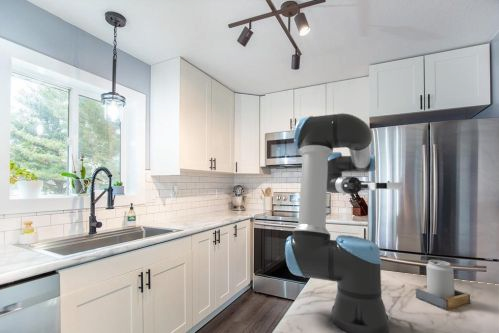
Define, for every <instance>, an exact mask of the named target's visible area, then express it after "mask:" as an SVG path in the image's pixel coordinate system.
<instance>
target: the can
mask: <svg viewBox="0 0 499 333" xmlns="http://www.w3.org/2000/svg"><path fill="white" fill-rule="evenodd" d="M451 265H452V264H451V263H450V262H448V261H445V260H439V259H430V260H428V262H427V264H426V290H427V291H426V292H428V293H431V294H434V295H436V296H439V297H441V298H444V299H447V298H450V297H454V289H455V275H454V268H453V267H452V266H451Z"/></svg>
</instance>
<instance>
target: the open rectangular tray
mask: <svg viewBox="0 0 499 333" xmlns="http://www.w3.org/2000/svg"><path fill="white" fill-rule="evenodd" d="M415 298H416V299H418V300H420V301H422V302H425V303H427V304H430V305H431V306H434V307H437V308H440V309H441V310H444V311H450V310H454V309H458V308H463V307H465V306H469V305H471V303H472V302H471V294H469V293H467V292H464V291H461V290H458V289H455V288H454V297H450V298H447V299H444V298H441V297H439V296H436V295H434V294H431V293H428V292H427V291H425V290H423V289H421V288H415Z"/></svg>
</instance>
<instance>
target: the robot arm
mask: <svg viewBox="0 0 499 333" xmlns="http://www.w3.org/2000/svg"><path fill="white" fill-rule="evenodd" d="M293 131H294V133H293V144H294V147H295V149H296V150H297V151H298V154H299V155H300V156H301V158H302V159H301V160H302V161H301V175H300V176H301V177H300V190H299V207H298V208H299V209H298V224H297V226H296V227H294V229H292V235H290V236H288V237H287V238H286V241H285V247H284V248H285V249H284V250H285V251H284V254H285V261H286V266H287V268H288V270H289V272H290V273H291V274H292V275H295V276H298V277H303V278H310V279H315V280H316V279H317V280H321V281H329V282H336V283H337V285H336V286H337V287H336V288H337V292H336V294H335V295H336V296H335V299H334V303H333V305H332V308H331V321H332V322H333V324H335V326H337V327H338V328H339V329H341V330H343V331H344V332H347V333H389V331H390V317H389V315H388V313H387V310H386V307H385V303H384V300H383V298H382V276H381V275H382V274H381V273H382V270H381V269H382V268H381V264H382V260H381V251H380V247H379V245H378V244H376V243H375V242H373V241H372V240H369V239H367V238H362V237H359V236H354V235H344V234H342V235H341V234H340V235H337V236H336V239H331V233H330V232H329V231H328V229H327V228H326V224H327V197H328V195H327V194H328V193H330V194H342V195H343V196H344V195H346V194H347V195H356V194H358V193H359V192H361V191H365V190H367V191H377V190H378V189H381V190H382V189H383V190H402V191H403V190H404V184H403V182H391V181H390V180H387V182H371V181H365V180H360V179H359V178H358V177H357V176H343V173H350V172H351V173H359V172H360V173H364V172H365V173H369V172H375V171H376V168H377V167H376V166H377V165H376V156H375V155H373V154H371V151H370V150H371V148H370V146H371V143H372V140H373V133H372V130H371V128H370V127H369V125H368V124H367V123H366V122H365V121H364V120H362V119H361V118H359V117H358V116H355V115H353V114H349V113H335V114H325V115H315V116H313V115H310V116H307V117H301V118H299V120H297V122H296V124H295V127H294V130H293ZM340 148H347V149H348V151H349V154H350V155H343V153H342V152H341V151H334V149H340Z"/></svg>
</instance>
